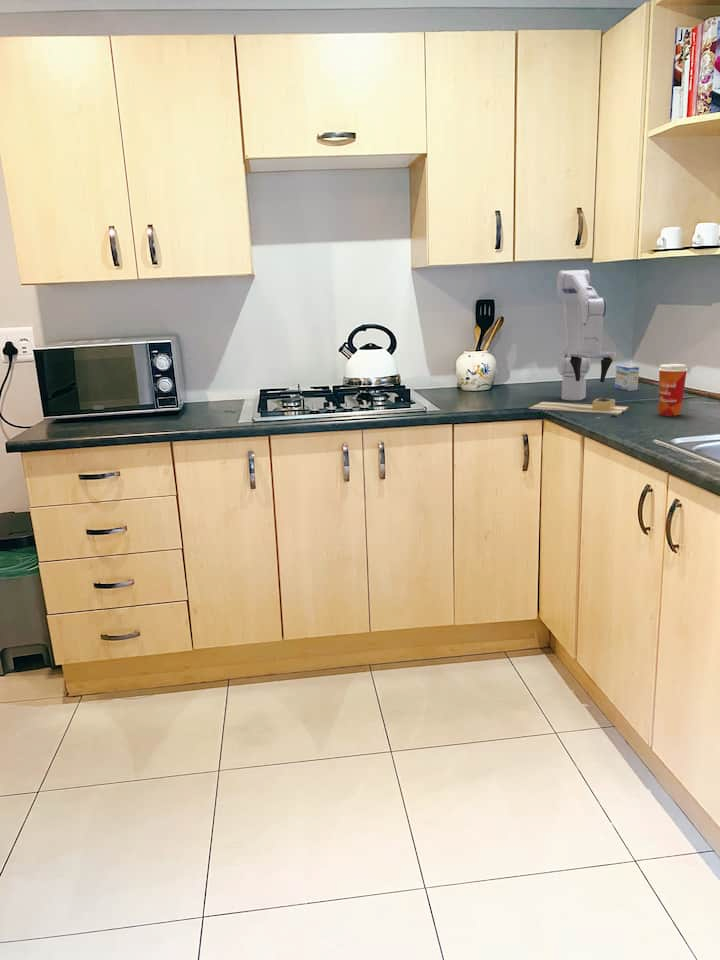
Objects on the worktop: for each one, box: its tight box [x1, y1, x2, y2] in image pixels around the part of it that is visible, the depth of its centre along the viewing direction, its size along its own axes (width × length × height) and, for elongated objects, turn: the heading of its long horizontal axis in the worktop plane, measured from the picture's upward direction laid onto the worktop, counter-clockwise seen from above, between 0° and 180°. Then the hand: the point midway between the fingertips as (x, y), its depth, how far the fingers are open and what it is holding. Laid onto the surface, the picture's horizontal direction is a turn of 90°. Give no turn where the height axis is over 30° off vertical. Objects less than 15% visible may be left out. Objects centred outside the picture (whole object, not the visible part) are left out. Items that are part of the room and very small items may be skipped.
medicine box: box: [614, 364, 640, 392], centre depth 269 cm, size 8×4×9 cm, turn 17°
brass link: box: [592, 398, 616, 411], centre depth 226 cm, size 6×6×3 cm
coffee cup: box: [658, 363, 689, 417], centre depth 217 cm, size 8×8×15 cm
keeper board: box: [529, 397, 629, 417], centre depth 230 cm, size 14×28×4 cm, turn 57°
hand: (590, 381), depth 228 cm, fingers open, 7 cm apart
